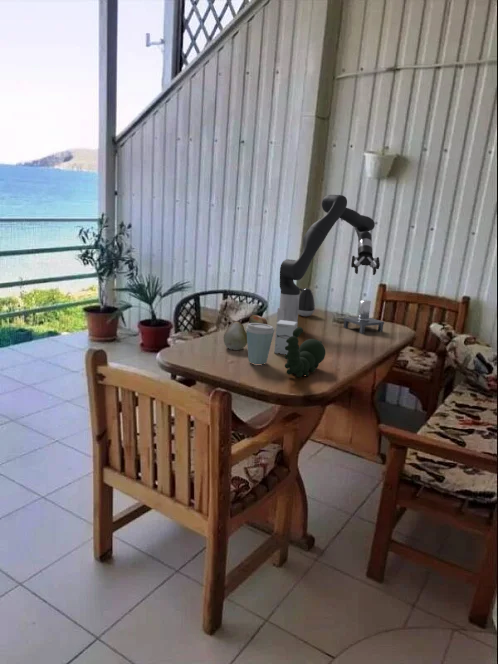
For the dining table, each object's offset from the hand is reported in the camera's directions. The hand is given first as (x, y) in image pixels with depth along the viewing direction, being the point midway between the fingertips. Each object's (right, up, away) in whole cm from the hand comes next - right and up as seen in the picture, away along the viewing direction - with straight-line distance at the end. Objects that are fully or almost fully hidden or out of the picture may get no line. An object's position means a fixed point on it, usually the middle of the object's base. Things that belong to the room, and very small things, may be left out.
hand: (365, 273), depth 258 cm
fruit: (-65, -37, -52) cm, 91 cm away
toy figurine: (-40, -45, -77) cm, 97 cm away
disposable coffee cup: (-56, -42, -69) cm, 98 cm away
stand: (-3, -29, -5) cm, 29 cm away
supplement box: (-45, -38, -52) cm, 79 cm away
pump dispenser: (-29, -21, +22) cm, 42 cm away
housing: (-2, -24, -6) cm, 25 cm away
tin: (-56, -31, -25) cm, 68 cm away
